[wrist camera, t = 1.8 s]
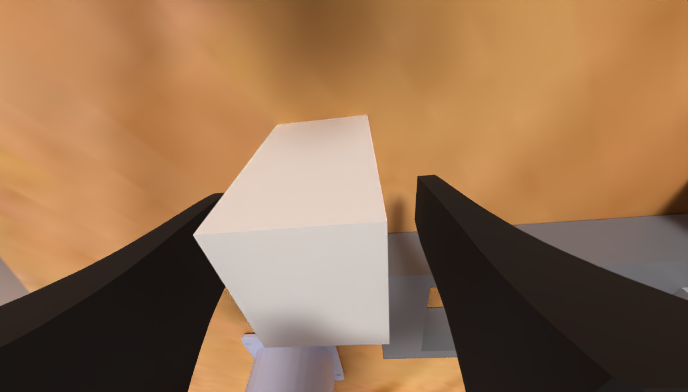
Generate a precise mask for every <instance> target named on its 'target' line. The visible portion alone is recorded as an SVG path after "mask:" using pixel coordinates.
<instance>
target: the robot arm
mask: <svg viewBox="0 0 688 392" xmlns="http://www.w3.org/2000/svg"><path fill="white" fill-rule="evenodd" d="M223 195H224V193H215V194H212V195H210V196H208V197H206V198H204V199H203V200H201V201H199V202H197V203H196V204H194V205H192V206H191V207H189V208H188V209H186V210H184V211H183V212H181V213H180V214H178V215H176V216H175V217H173V218H172V219H170V220H169V221H167V222H165V223H164V224H162V225H161V226H159V227H157V228H156V229H154V230H152V231H151V232H149V233H147V234H146V235H144V236H142V237H140V238H139V239H137V240H135V241H134V242H132V243H130V244H129V245H127V246H125V247H124V248H122V249H120V250H118V251H116V252H114V253H113V254H111V255H109V256H107V257H105V258H103V259H101V260H99V261H97V262H95V263H94V264H92V265H90V266H88V267H86V268H84V269H82V270H80V271H78V272H76V273H73V274H71V275H69V276H67V277H65V278H63V279H60V280H58V281H56V282H54V283H52V284H50V285H47V286H45V287H43V288H41V289H39V290H37V291H34V292H32V293H30V294H28V295H25V296H23V297H21V298H19V299H16V300H14V301H11V302H9V303H7V304H5V305H2V306H0V392H188V389H189V385H190V382H191V378H192V375H193V371H194V368H195V365H196V362H197V359H198V355H199V352H200V349H201V346H202V343H203V340H204V337H205V334H206V332H207V329H208V326H209V323H210V320H211V317H212V315H213V313H214V310H215V308H216V306H217V303H218V301H219V299H220V297H221V295H222V293H223V291H224V288H225V285H224V283H223V282H222V280H221V278H220V277H219V275H218V274H217V272H216V271H215V269H214V267H213V266H212V264H211V263H210V261H209V260H208V258H207V256H206V255H205V253H204V252H203V250H202V249H201V247H200V245H199V244H198V242H197V241H196V239H195V238H194V236H193V234H194V233H195V232H196V230H197V229H198V228H199V226H200V225H201V224H202V222H203V221H204V220H205V218H206V217H207V216H208V215H209V213H210V212H211V211H212V209H213V208H214V207H215V205H216V204H217V203H218V201H219V200H220V199H221V197H222V196H223ZM415 223H416V227H417V232H418V236H419V240H420V243H421V246H422V249H423V252H424V254H425V257H426V260H427V262H428V265H429V268H430V270H431V273H432V275H433V278H434V281H435V283H436V286H437V289H438V291H439V294H440V297H441V300H442V303H443V306H444V309H445V312H446V316H447V319H448V323H449V327H450V330H451V334H452V338H453V342H454V346H455V350H456V353H457V357H458V361H459V365H460V369H461V373H462V377H463V382H464V386H465V390H466V392H688V300H686V299H683V298H681V297H678V296H675V295H672V294H670V293H667V292H664V291H661V290H659V289H656V288H653V287H651V286H648V285H645V284H643V283H640V282H637V281H635V280H632V279H629V278H627V277H624V276H622V275H619V274H617V273H614V272H612V271H609V270H607V269H604V268H602V267H599V266H597V265H594V264H592V263H590V262H588V261H585V260H583V259H581V258H578V257H576V256H574V255H571V254H569V253H567V252H565V251H562V250H560V249H558V248H556V247H554V246H552V245H549V244H547V243H545V242H543V241H541V240H539V239H537V238H536V237H534V236H532V235H530V234H528V233H526V232H524V231H522V230H520V229H518V228H516V227H514V226H513V225H511V224H509V223H507V222H506V221H504V220H502V219H501V218H499V217H497V216H496V215H494V214H492V213H490V212H489V211H487V210H486V209H484V208H483V207H481V206H479V205H478V204H476V203H475V202H473V201H472V200H470V199H469V198H467V197H466V196H465V195H463V194H462V193H460V192H459V191H457V190H456V189H455V188H453V187H452V186H450V185H449V184H448V183H446V182H445V181H443V180H442V179H441V178H439V177H438V176H436V175H427V176H418V178H417V193H416V208H415ZM241 341H242V343H243V344H244V346H245V347H246V348H247V350H248V351H249V352H250V354H251V355H252V357H253V358H254V363H253V366H252V369H251V373H250V376H249V380H248V383H247V387H246V390H245V392H334V384H335V381H342V380H344V372H343V368H342V365H341V361H340V358H339V354H338V351H337V347H336V346H308V347H274V348H264V346H263V345H262V343H261V341H260V340H259V338H258V337H257V335H256V334H244V335H243V336H242V338H241Z"/></svg>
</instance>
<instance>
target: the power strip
mask: <svg viewBox="0 0 688 392" xmlns="http://www.w3.org/2000/svg"><path fill="white" fill-rule="evenodd" d="M513 226H514V227H516V228H518V229H520V230H522V231H524V232H526V233H528V234H530V235H532V236H534V237H536V238H537V239H539V240H541V241H543V242H545V243H547V244H549V245H552V246H554V247H556V248H558V249H560V250H562V251H565V252H567V253H569V254H571V255H574V256H576V257H578V258H581V259H583V260H585V261H588V262H590V263H592V264H594V265H597V266H599V267H602V268H604V269H607V270H609V271H612V272H614V273H617V274H619V275H622V276H624V277H627V278H629V279H632V280H635V281H637V282H640V283H643V284H645V285H648V286H651V287H653V288H656V289H659V290H661V291H664V292H667V293H670V294H672V295H675V296H678V297H681V298H683V299H686V300H688V213H687V214H673V215H658V216H643V217H628V218H613V219H598V220H583V221H568V222H554V223H539V224H524V225H513ZM387 239H388V293H389V344H382V349H383V359H406V358H446V357H457V353H456V350H455V346H454V342H453V338H452V334H451V330H450V327H449V323H448V319H447V316H446V312H445V309H444V307H439V308H427V305H428V298H429V291H430V287H437V286H436V283H435V281H434V278H433V275H432V273H431V270H430V268H429V265H428V262H427V260H426V257H425V254H424V252H423V249H422V246H421V243H420V240H419V236H418V232H405V233H390V234H387Z"/></svg>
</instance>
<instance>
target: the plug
mask: <svg viewBox="0 0 688 392" xmlns="http://www.w3.org/2000/svg"><path fill="white" fill-rule="evenodd" d="M193 236H194V238H195V239H196V241H197V242H198V244H199V245H200V247H201V249H202V250H203V252H204V253H205V255H206V256H207V258H208V260H209V261H210V263H211V264H212V266H213V267H214V269H215V271H216V272H217V274H218V275H219V277H220V278H221V280H222V282H223V283H224V285H225V286H226V288H227V290H228V291H229V293H230V294H231V296H232V297H233V299H234V301H235V302H236V304H237V305H238V307H239V308H240V310H241V312H242V313H243V315H244V316H245V318H246V319H247V321H248V323H249V324H250V326H251V327H252V329H253V330H254V332H255V334H256V335H257V337H258V338H259V340H260V341H261V343H262V345H263V346H264V348H274V347H308V346H342V345H376V344H389V293H388V239H387V218H386V212H385V207H384V202H383V196H382V191H381V186H380V180H379V175H378V170H377V164H376V159H375V153H374V148H373V143H372V137H371V132H370V127H369V121H368V116H367V115H360V116H351V117H342V118H333V119H323V120H314V121H305V122H296V123H286V124H277V125H276V126H275V128H274V129H273V130H272V132H271V133H270V134H269V136H268V137H267V138H266V139H265V141H264V142H263V143H262V145H261V146H260V147H259V149H258V150H257V151H256V153H255V154H254V155H253V157H252V158H251V159H250V161H249V162H248V163H247V164H246V166H245V167H244V168H243V170H242V171H241V172H240V174H239V175H238V176H237V178H236V179H235V180H234V182H233V183H232V184H231V186H230V187H229V188H228V190H227V191H226V192H225V193H224V195H223V196H222V197H221V199H220V200H219V201H218V203H217V204H216V205H215V207H214V208H213V209H212V211H211V212H210V213H209V215H208V216H207V217H206V218H205V220H204V221H203V222H202V224H201V225H200V226H199V228H198V229H197V230H196V232H195V233H194V234H193Z"/></svg>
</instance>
